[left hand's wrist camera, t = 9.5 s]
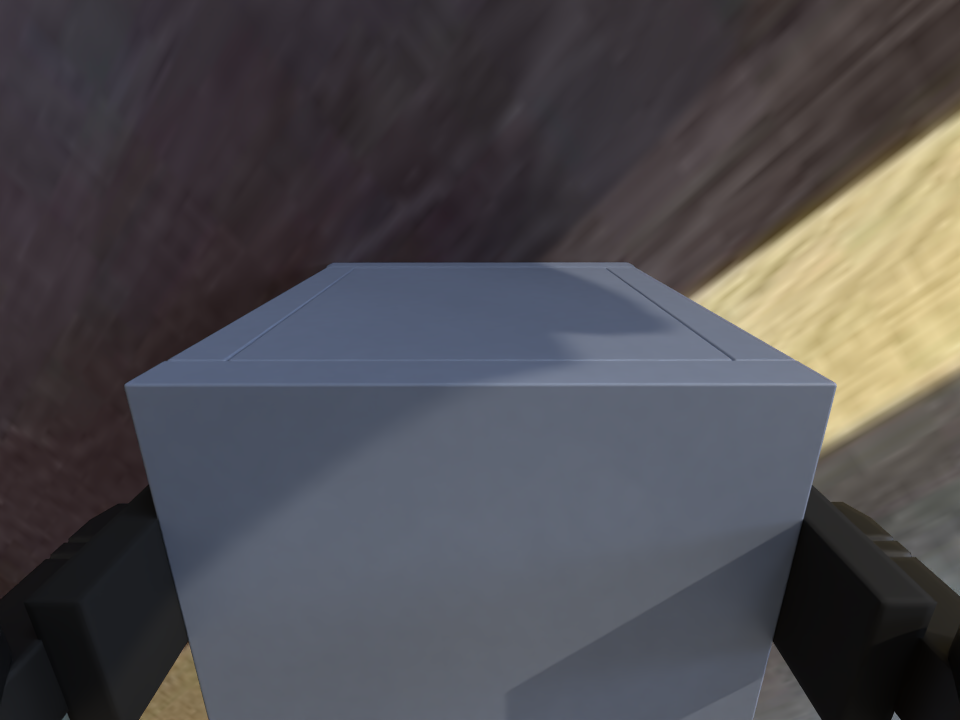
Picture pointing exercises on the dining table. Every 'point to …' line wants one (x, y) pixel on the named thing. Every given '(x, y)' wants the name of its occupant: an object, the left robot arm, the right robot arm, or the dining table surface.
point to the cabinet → (480, 496)
